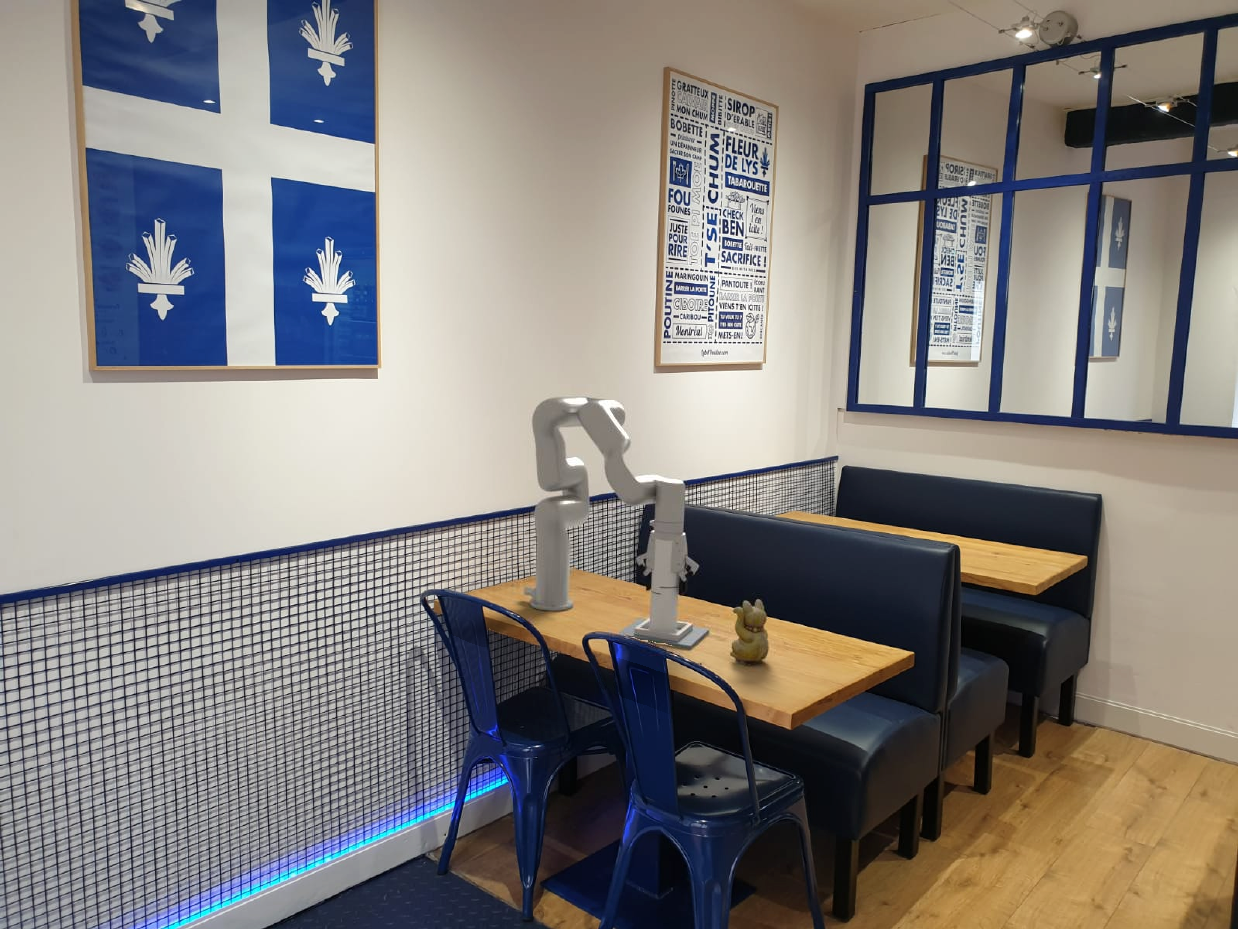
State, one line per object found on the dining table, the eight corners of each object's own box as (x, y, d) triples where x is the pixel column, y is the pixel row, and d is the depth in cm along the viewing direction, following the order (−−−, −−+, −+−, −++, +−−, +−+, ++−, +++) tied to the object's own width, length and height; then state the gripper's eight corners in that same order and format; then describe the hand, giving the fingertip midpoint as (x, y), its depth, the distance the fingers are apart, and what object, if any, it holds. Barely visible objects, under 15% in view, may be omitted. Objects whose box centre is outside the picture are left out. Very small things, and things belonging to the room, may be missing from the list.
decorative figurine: (752, 653, 235) (755, 595, 233) (777, 662, 229) (781, 602, 227) (725, 660, 229) (728, 600, 227) (750, 670, 223) (753, 608, 221)
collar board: (616, 637, 244) (617, 628, 243) (639, 621, 258) (639, 612, 258) (690, 649, 236) (690, 640, 236) (709, 632, 251) (709, 623, 251)
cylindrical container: (674, 636, 243) (679, 541, 240) (647, 633, 245) (651, 539, 241) (678, 628, 250) (683, 536, 247) (651, 625, 251) (656, 534, 248)
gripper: (632, 525, 244) (629, 590, 246) (696, 533, 237) (692, 600, 239) (642, 521, 250) (640, 584, 253) (705, 528, 244) (701, 593, 246)
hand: (665, 592), depth 246 cm, fingers open, 8 cm apart
